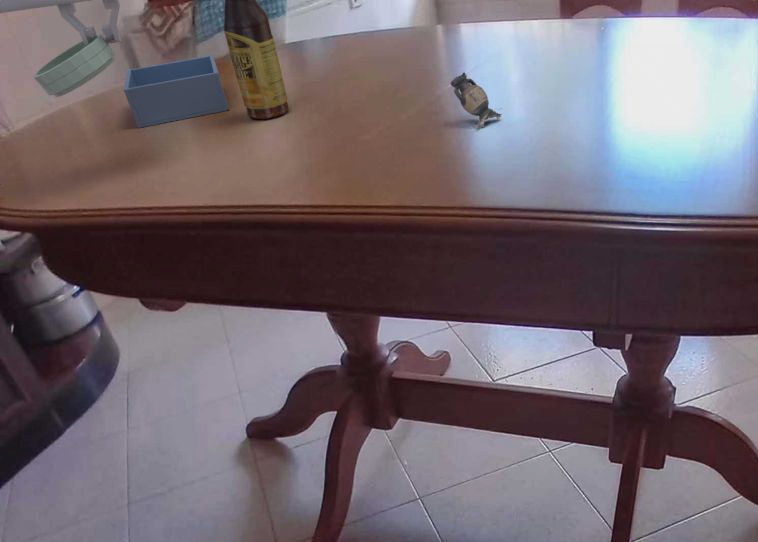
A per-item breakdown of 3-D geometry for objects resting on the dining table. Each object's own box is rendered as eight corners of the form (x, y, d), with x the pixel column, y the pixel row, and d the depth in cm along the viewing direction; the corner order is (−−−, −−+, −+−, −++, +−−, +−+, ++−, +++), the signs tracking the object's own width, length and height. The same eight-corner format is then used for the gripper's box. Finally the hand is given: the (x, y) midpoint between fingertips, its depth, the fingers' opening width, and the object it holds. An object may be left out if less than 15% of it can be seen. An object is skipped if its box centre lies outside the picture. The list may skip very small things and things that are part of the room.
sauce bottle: (240, 116, 103) (195, -36, 91) (278, 104, 106) (238, -44, 95) (261, 124, 99) (216, -34, 87) (299, 112, 102) (261, -42, 90)
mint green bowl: (47, 107, 78) (27, 84, 76) (57, 87, 85) (38, 66, 83) (116, 64, 78) (97, 41, 77) (120, 49, 85) (103, 27, 84)
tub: (138, 128, 103) (123, 90, 100) (140, 105, 113) (127, 69, 110) (229, 110, 106) (218, 72, 103) (223, 89, 117) (213, 54, 113)
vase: (445, 125, 92) (439, 77, 88) (474, 112, 95) (469, 66, 91) (474, 132, 88) (469, 83, 85) (503, 119, 91) (499, 71, 88)
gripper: (155, -110, 78) (195, 24, 86) (-52, -88, 73) (12, 52, 81) (154, -109, 73) (197, 34, 81) (-67, -85, 68) (2, 64, 76)
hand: (103, 43), depth 81 cm, fingers closed on mint green bowl
